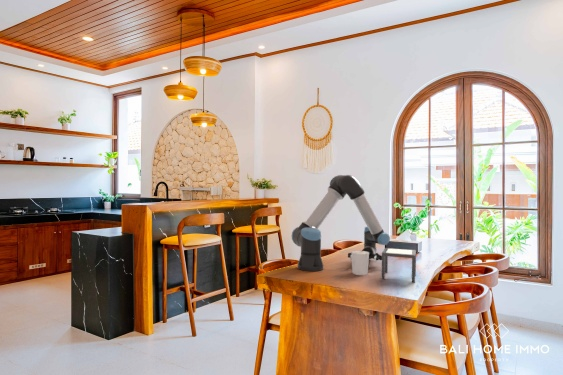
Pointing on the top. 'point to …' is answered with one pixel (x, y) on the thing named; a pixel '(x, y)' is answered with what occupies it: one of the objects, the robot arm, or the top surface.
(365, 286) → the top surface
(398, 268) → the top surface
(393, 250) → the trapdoor
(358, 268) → the candle holder
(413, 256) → the stand
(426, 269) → the top surface
